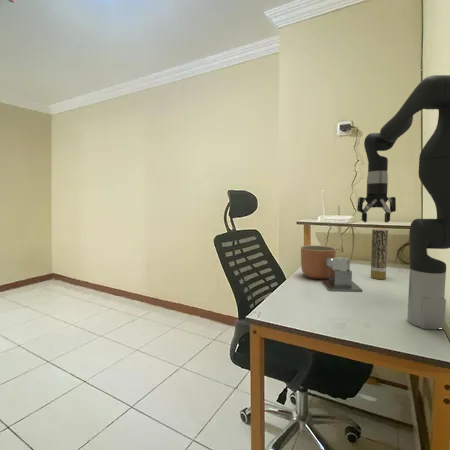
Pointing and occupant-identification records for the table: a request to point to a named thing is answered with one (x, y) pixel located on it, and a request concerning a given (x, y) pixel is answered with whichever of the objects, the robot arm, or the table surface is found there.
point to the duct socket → (341, 282)
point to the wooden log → (379, 253)
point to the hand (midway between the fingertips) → (375, 222)
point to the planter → (316, 261)
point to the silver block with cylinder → (338, 263)
